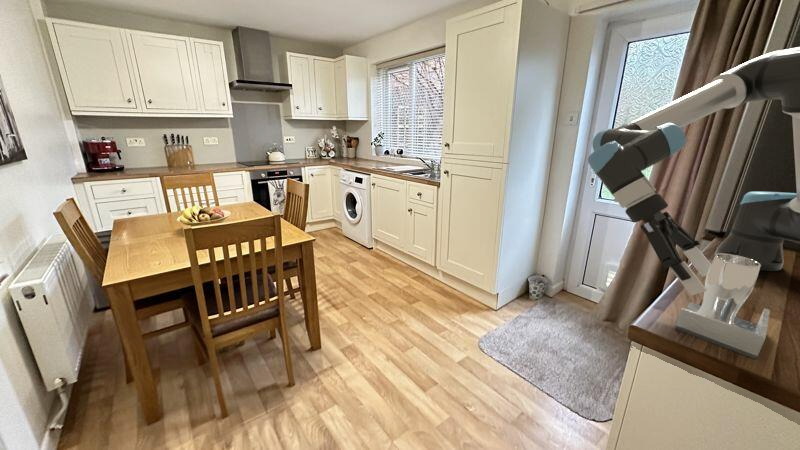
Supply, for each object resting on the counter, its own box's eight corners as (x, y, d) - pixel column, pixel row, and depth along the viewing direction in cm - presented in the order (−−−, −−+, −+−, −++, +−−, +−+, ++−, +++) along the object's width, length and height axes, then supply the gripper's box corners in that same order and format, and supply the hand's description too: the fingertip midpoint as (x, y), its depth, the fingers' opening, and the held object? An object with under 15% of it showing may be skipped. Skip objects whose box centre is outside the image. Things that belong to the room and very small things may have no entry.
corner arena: (689, 304, 77) (695, 287, 76) (761, 329, 69) (770, 309, 67) (674, 328, 68) (681, 308, 67) (755, 359, 59) (765, 338, 58)
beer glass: (683, 313, 72) (704, 252, 68) (714, 314, 72) (738, 253, 67) (711, 332, 66) (736, 266, 61) (745, 333, 65) (773, 267, 61)
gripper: (639, 202, 85) (695, 273, 79) (605, 218, 69) (672, 308, 63) (670, 186, 79) (732, 261, 73) (641, 199, 64) (717, 295, 58)
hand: (704, 283), depth 68 cm, fingers open, 13 cm apart
